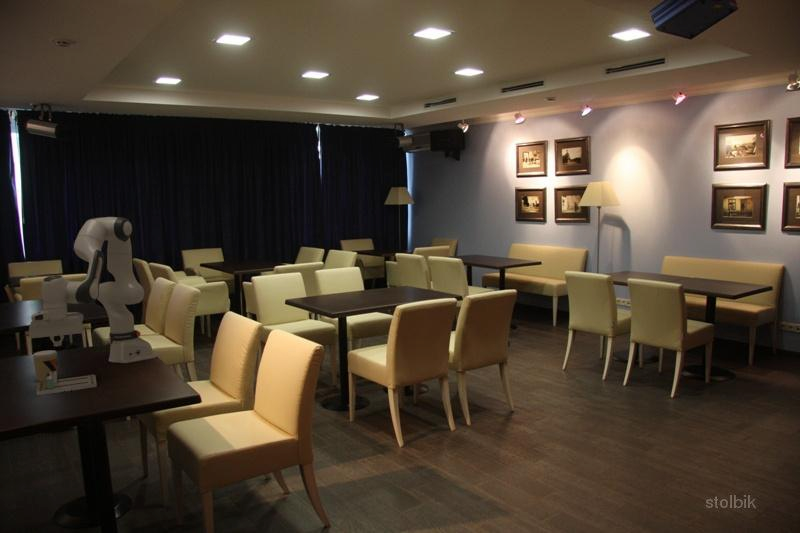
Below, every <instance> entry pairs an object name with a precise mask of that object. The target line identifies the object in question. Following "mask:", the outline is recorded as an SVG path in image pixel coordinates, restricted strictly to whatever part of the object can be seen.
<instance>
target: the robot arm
mask: <svg viewBox="0 0 800 533" xmlns="http://www.w3.org/2000/svg"><path fill="white" fill-rule="evenodd" d="M132 234H133V224H132V223H131V221H130V220H129V219H128V218H127V217H123V216H122V217H117V216H116V217H115V216H107V217H93V218H90V219H89V218H88V220H86V221H85V223H84V224H83V225H82V227H81V229H79V232H78V234H77V236H76V239H75V241H74V243H73V251H74V252H75V255H76V256H77V257H79V259H82V260H83V261H85V262H88V269H87V274H86V278H85V279H83V280H82V281H79V280H78V281H73V280H69V279H66V278H64V277H63V275H60V274H55V275H54V274H53V275H49V276H46V277H44V278H43V279H42V283H41V298H42V301H43V306H42V310H41V311H38V312H35V313H33V314H31V317H30V318H31V321H30V324H29V327H28V337H29V338H30V339H39V338H47V337H48V338H49V339H50V340H51V342H52V343H53V347H62V342H63V340H64V339H65V336H66V335H67V336H68V335H75V334H76V335H77V334H78V335H79V334H82V333H83V332H84V325H83V321H84V314H83V313H81V312H79V311H76V312H68V306H67V304H82V305H88V306H89V305H92V304H94V303H95V302H96V301H99V302H100V303H101V304H102V305H103V307H104V309H105V310H106V311H105V312H106V313H107V317H108V323H109V324H108V325H109V332H108V333H109V335H108V337H109V340H108V341H109V344H110V349H109V350H110V351H109V357H108V362H111V363H120V364H128V363H129V364H130V363H135V362H140V361H146V360H150V359H156V358H157V357H158V352H156V351H154V350H153V348H152V345H151V343H150V342H149V341H146V339H143V338H142V337H140V336H141V332H140V331H139V330H137V329H135V319H134V317H135V316H134V315H133V313H132V312H131V311H129V308H127V306H126V305H136V304H139V303H141V302H142V301H143V299H144V297H145V289H144V287H143V286H142V285H141V284H140V283H139V282H138V280H137V279H136V277H135V274H134V271H133V270H134V269H133V259H132V258H133V252H132V251H133V250H132V242H131V236H132ZM105 241H107V250H106V251H107V252H106V258H107V259H106V260H107V262H106V263H107V264H106V266H107V267H106V269H107V271H108V273H110V274H111V275H112V276H113V277H114V280H115V281H106V282H102V283H101V279H102V273H103V270H104V262H105V254H104V253H103V252H102V247H103V244H104V243H105ZM57 336H58V337H59V338H60V340H58V341H57V340H56V341H55V337H57Z"/></svg>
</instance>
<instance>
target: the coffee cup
mask: <svg viewBox="0 0 800 533" xmlns="http://www.w3.org/2000/svg"><path fill="white" fill-rule="evenodd" d="M32 358H33V365H34V369H35V371H34V372H35V375H36V376H35V377H36V381H37V380H38V381H37V382H41V381H43V382H45V381H46V379H47V377H49V376H50V372H52V371H54V372H55V371H56V373H57V374H58V352H57V350H51V349H50V350H41V351H36V352H34V353H33V354H32Z"/></svg>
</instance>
